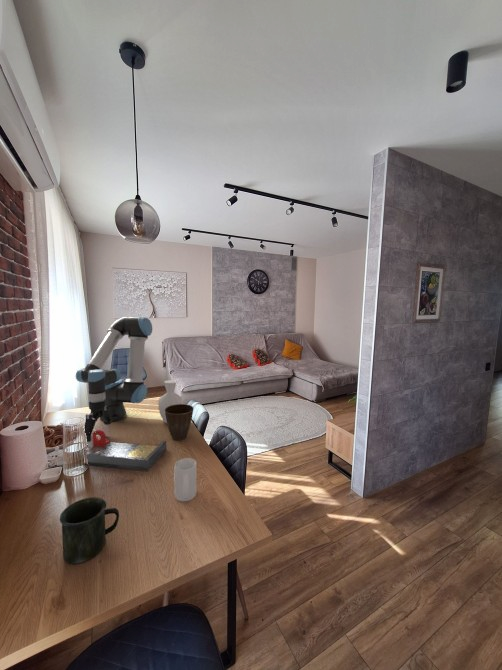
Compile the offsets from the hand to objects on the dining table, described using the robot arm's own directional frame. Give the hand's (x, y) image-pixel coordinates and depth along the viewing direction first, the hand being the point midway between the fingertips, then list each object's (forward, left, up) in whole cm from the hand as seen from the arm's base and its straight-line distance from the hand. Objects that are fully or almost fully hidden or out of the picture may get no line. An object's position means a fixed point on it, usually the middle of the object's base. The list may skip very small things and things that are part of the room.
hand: (98, 441), depth 140 cm
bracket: (+2, 0, -1) cm, 2 cm away
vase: (-32, +25, 0) cm, 41 cm away
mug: (+57, +41, 0) cm, 70 cm away
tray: (+11, +23, 0) cm, 25 cm away
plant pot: (-12, +39, 0) cm, 41 cm away
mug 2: (+33, +60, 0) cm, 68 cm away
